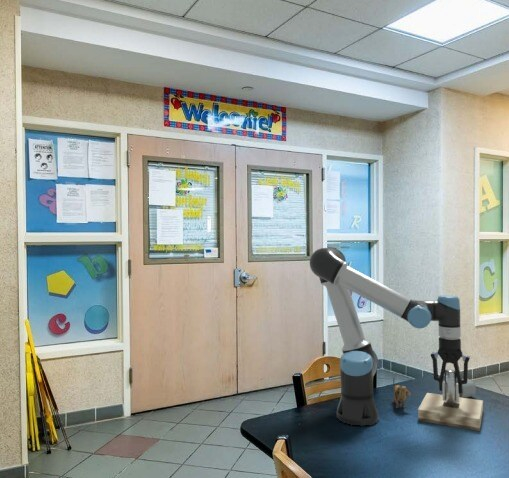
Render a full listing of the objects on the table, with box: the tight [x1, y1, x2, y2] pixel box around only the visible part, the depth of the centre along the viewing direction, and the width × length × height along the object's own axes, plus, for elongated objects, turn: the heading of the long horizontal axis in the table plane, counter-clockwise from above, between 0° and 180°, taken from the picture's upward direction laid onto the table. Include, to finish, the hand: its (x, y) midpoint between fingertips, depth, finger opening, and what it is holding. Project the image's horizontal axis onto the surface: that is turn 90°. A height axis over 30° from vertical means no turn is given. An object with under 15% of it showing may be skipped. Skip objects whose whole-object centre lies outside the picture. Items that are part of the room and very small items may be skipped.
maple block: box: [417, 392, 484, 432], centre depth 167 cm, size 20×20×4 cm
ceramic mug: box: [456, 378, 477, 398], centre depth 188 cm, size 11×8×8 cm
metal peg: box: [444, 368, 457, 408], centre depth 167 cm, size 4×4×14 cm
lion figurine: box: [392, 384, 412, 409], centre depth 180 cm, size 15×5×9 cm, turn 0°
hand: (450, 400), depth 167 cm, fingers closed on metal peg, 4 cm apart
